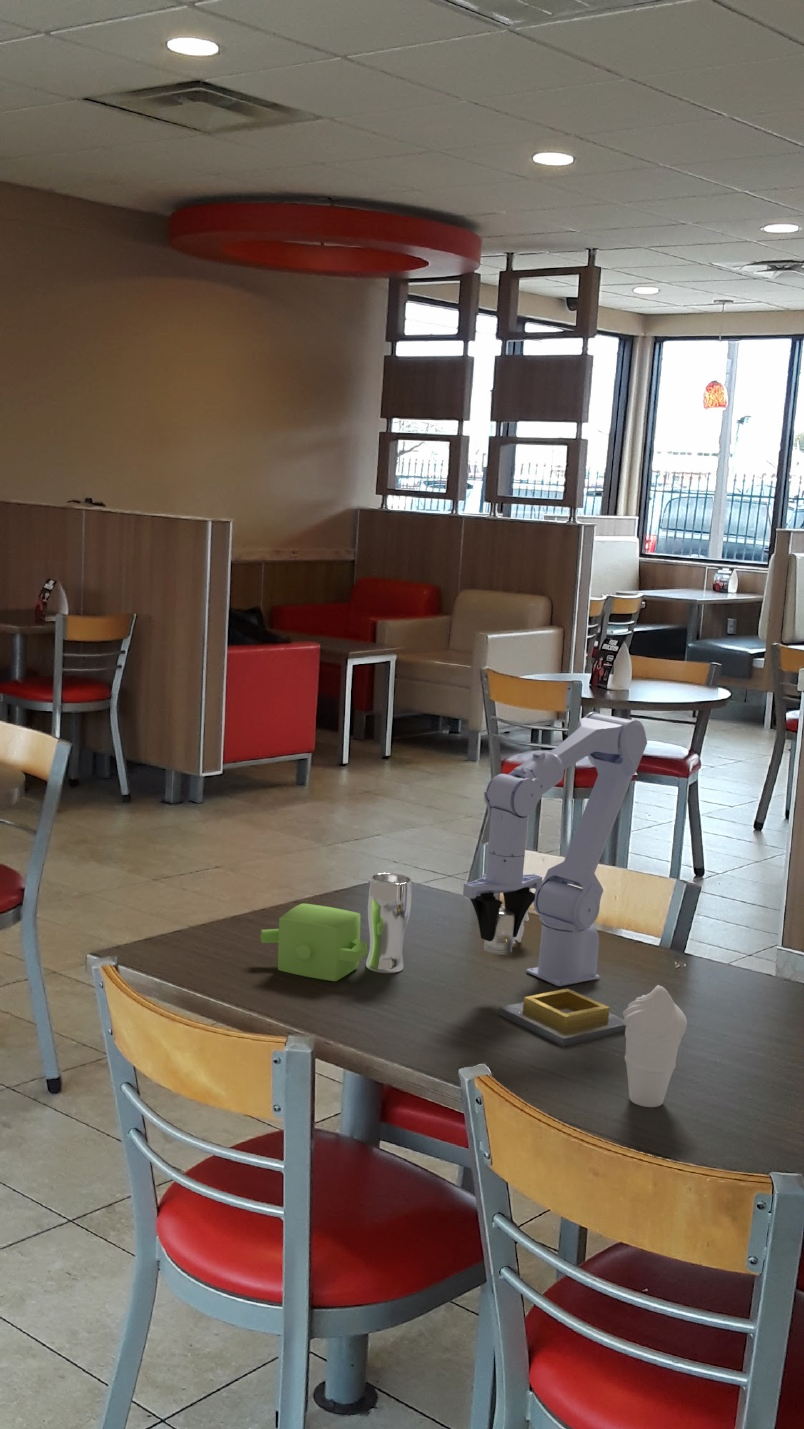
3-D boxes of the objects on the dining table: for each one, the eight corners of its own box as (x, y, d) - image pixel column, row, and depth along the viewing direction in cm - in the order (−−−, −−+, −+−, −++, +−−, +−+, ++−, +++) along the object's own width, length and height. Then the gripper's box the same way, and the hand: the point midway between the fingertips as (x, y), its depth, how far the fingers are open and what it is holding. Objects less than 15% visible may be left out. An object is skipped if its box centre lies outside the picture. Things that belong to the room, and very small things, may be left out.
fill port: (566, 1000, 223) (568, 981, 222) (631, 1030, 212) (633, 1010, 211) (498, 1014, 214) (500, 994, 214) (562, 1046, 203) (564, 1025, 203)
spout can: (499, 943, 225) (503, 896, 223) (517, 951, 221) (522, 904, 220) (477, 947, 222) (481, 900, 221) (496, 955, 218) (500, 907, 217)
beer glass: (401, 976, 228) (408, 886, 226) (358, 971, 229) (365, 880, 227) (409, 963, 235) (416, 875, 232) (368, 958, 236) (375, 870, 234)
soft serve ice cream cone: (607, 1086, 190) (619, 971, 188) (668, 1088, 191) (681, 974, 189) (622, 1113, 182) (635, 993, 180) (686, 1115, 183) (699, 996, 180)
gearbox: (246, 970, 227) (247, 913, 225) (275, 951, 236) (277, 897, 234) (348, 991, 220) (351, 932, 218) (374, 970, 229) (377, 914, 227)
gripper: (523, 842, 227) (516, 924, 229) (453, 850, 218) (446, 935, 220) (554, 852, 221) (546, 937, 223) (483, 861, 212) (475, 949, 214)
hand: (498, 937), depth 221 cm, fingers closed on spout can, 4 cm apart
